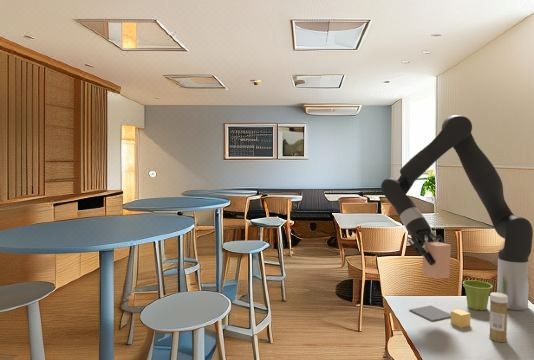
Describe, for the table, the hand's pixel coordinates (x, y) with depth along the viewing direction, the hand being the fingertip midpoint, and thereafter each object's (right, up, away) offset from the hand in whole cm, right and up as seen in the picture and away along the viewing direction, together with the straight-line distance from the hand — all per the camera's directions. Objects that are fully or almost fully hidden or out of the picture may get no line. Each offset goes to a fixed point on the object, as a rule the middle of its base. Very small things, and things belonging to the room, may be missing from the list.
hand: (440, 263), depth 128 cm
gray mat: (-1, -19, +4) cm, 19 cm away
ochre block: (+4, -19, -5) cm, 20 cm away
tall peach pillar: (-1, -5, +2) cm, 5 cm away
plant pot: (+18, -19, +10) cm, 28 cm away
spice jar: (+10, -20, -15) cm, 27 cm away
